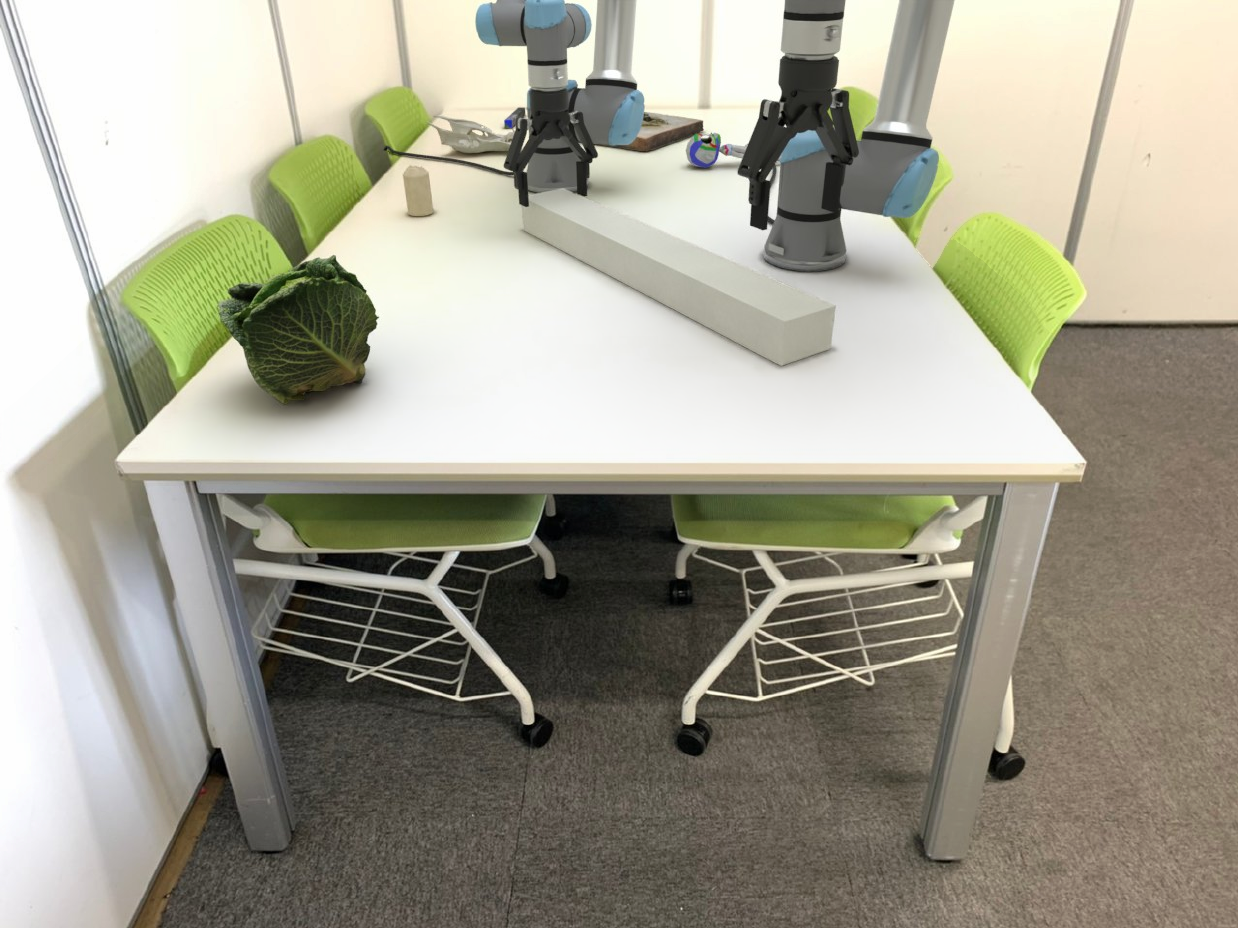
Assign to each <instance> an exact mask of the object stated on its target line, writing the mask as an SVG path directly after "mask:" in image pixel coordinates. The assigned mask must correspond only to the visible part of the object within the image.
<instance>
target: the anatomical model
mask: <svg viewBox="0 0 1238 928" xmlns="http://www.w3.org/2000/svg"><path fill="white" fill-rule="evenodd" d="M433 118H437V119H440V120H441V119H442V120H445V121H447V122H448V123H449V125H450V128H451V130H448V129H444V128H441V127H439V126H437V125H435V124H433V123H432V122H430V121H428V120H427V124H428V125H429V126H431V127H432V128H434V129H435V130H436V131H437V134H438V136H439V139H440V143H441V146H449V147H450V148H451V149H453V150H454V151H458V152H460V153H463V154H479V153H484V152H491V151H492V152H493V151H495V152H496V151H497V152H508V151H509V148H510V145H511V142H512V139H513V136H514V133H515V129H514V128H513V127H512V128H511V130H512V131H508V133H507V134H503V133H495V132H493V130H492V129H490V128H489V127H488V126H486V125H483V124H482V123H478V122H477V121H473V120H468V119H464V118H452V117H448V116H444V115H440V114H433ZM474 131H478V132H481V133H482V135H480V134H478V133H476V132H474ZM486 134H487V135H486Z"/></svg>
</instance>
